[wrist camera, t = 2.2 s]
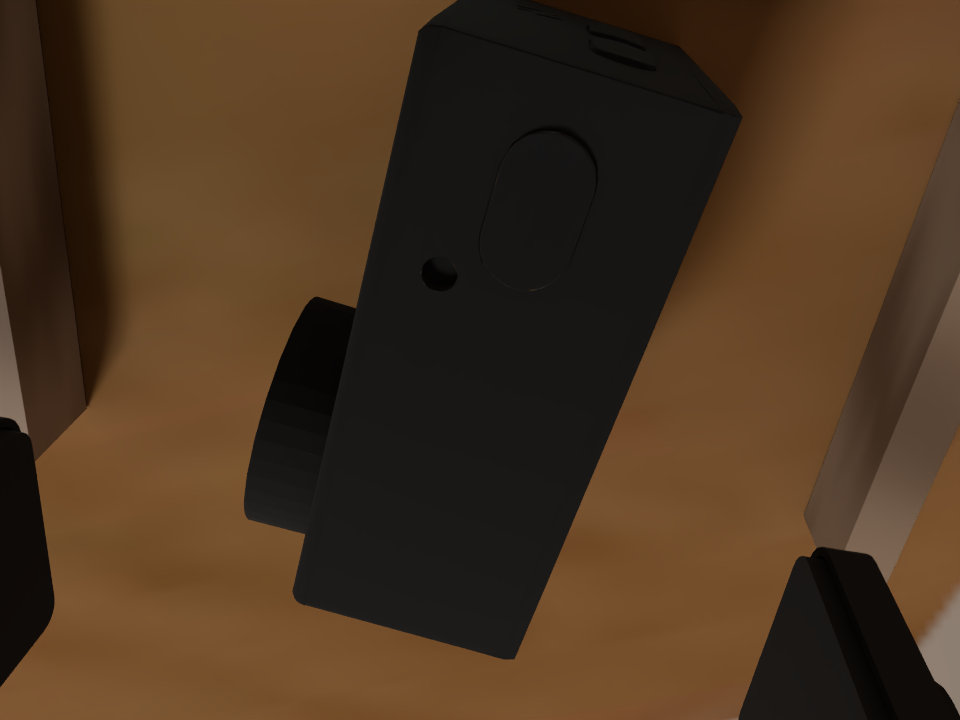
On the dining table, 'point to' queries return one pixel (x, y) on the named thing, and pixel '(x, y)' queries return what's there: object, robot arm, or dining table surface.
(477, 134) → the digital camera
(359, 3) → the dining table surface
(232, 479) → the dining table surface
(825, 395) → the dining table surface
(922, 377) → the twin metal rails
